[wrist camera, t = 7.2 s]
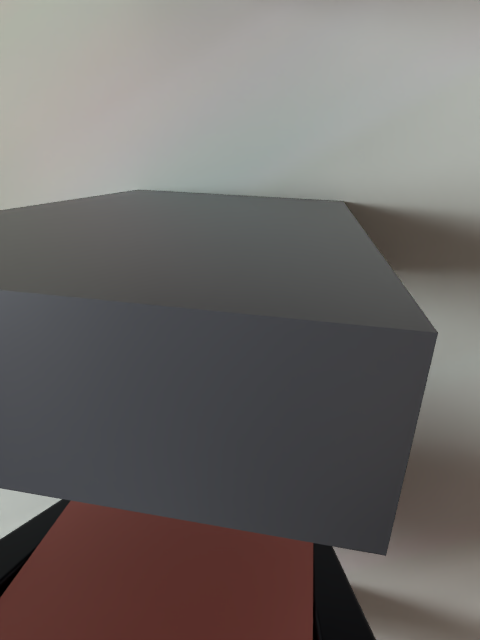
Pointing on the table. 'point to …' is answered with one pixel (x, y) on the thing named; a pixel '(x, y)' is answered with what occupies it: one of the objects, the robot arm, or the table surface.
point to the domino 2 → (158, 582)
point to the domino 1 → (210, 363)
